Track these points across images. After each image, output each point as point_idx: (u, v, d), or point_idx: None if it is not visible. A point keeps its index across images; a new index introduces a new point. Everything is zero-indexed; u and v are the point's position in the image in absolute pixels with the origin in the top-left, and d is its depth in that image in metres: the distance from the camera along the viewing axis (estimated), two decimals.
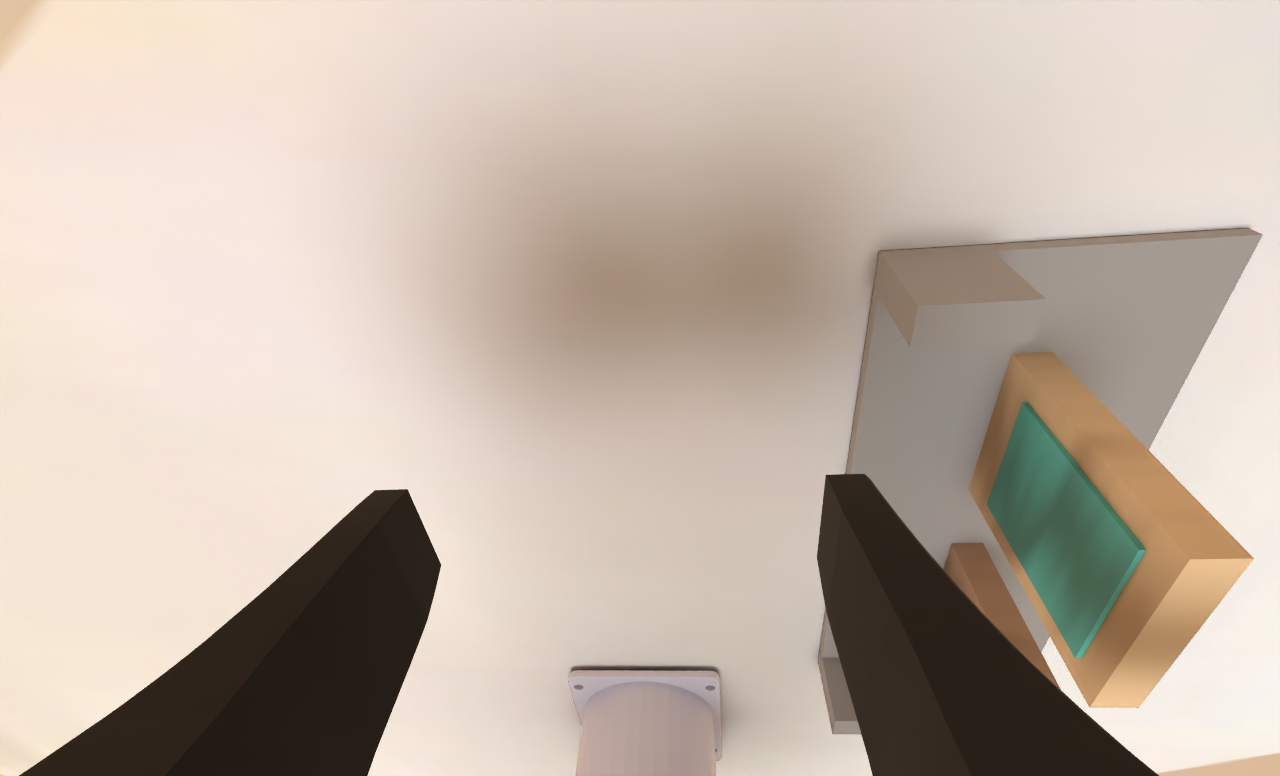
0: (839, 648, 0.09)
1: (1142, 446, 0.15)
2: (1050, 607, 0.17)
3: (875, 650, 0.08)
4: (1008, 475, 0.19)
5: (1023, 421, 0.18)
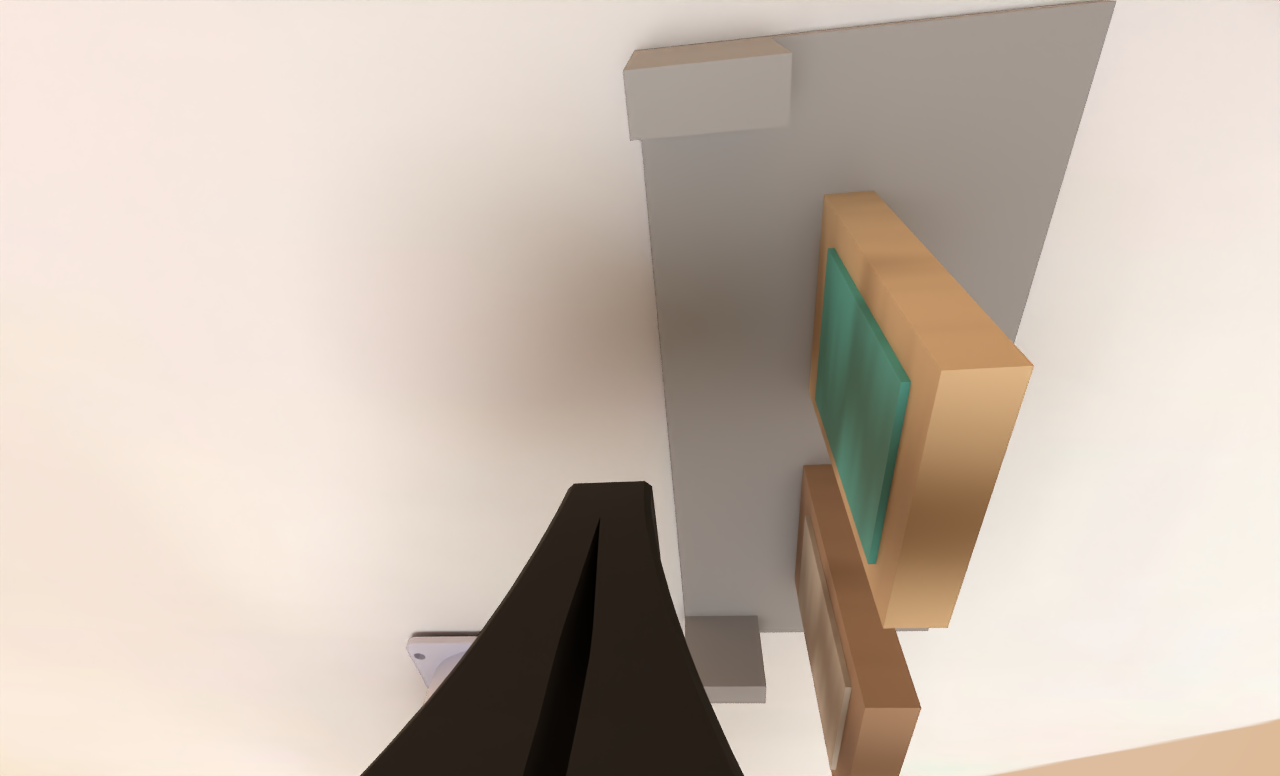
0: None
1: (938, 264, 0.11)
2: (851, 504, 0.13)
3: None
4: (824, 352, 0.15)
5: (829, 272, 0.14)
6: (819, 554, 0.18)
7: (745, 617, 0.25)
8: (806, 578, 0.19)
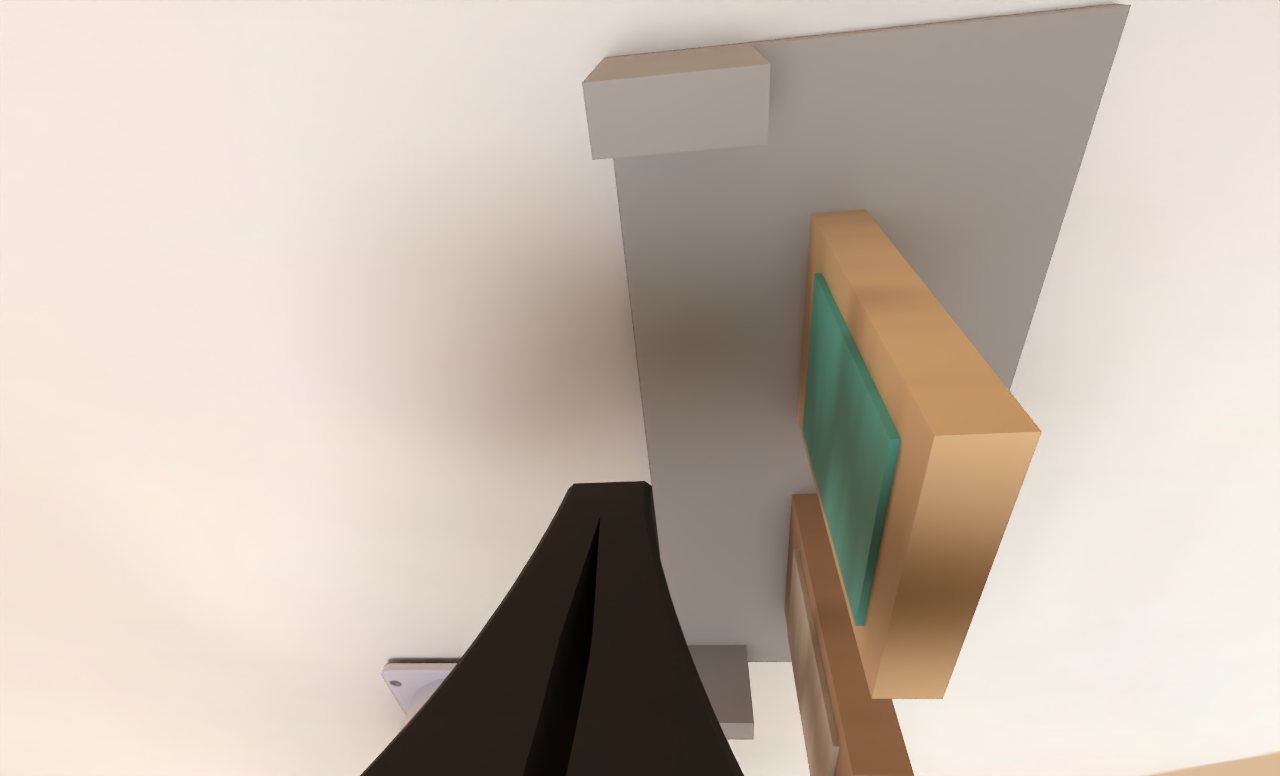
0: None
1: (933, 298, 0.10)
2: (839, 555, 0.12)
3: None
4: (811, 383, 0.14)
5: (815, 299, 0.13)
6: (807, 593, 0.17)
7: (733, 647, 0.24)
8: (795, 614, 0.18)
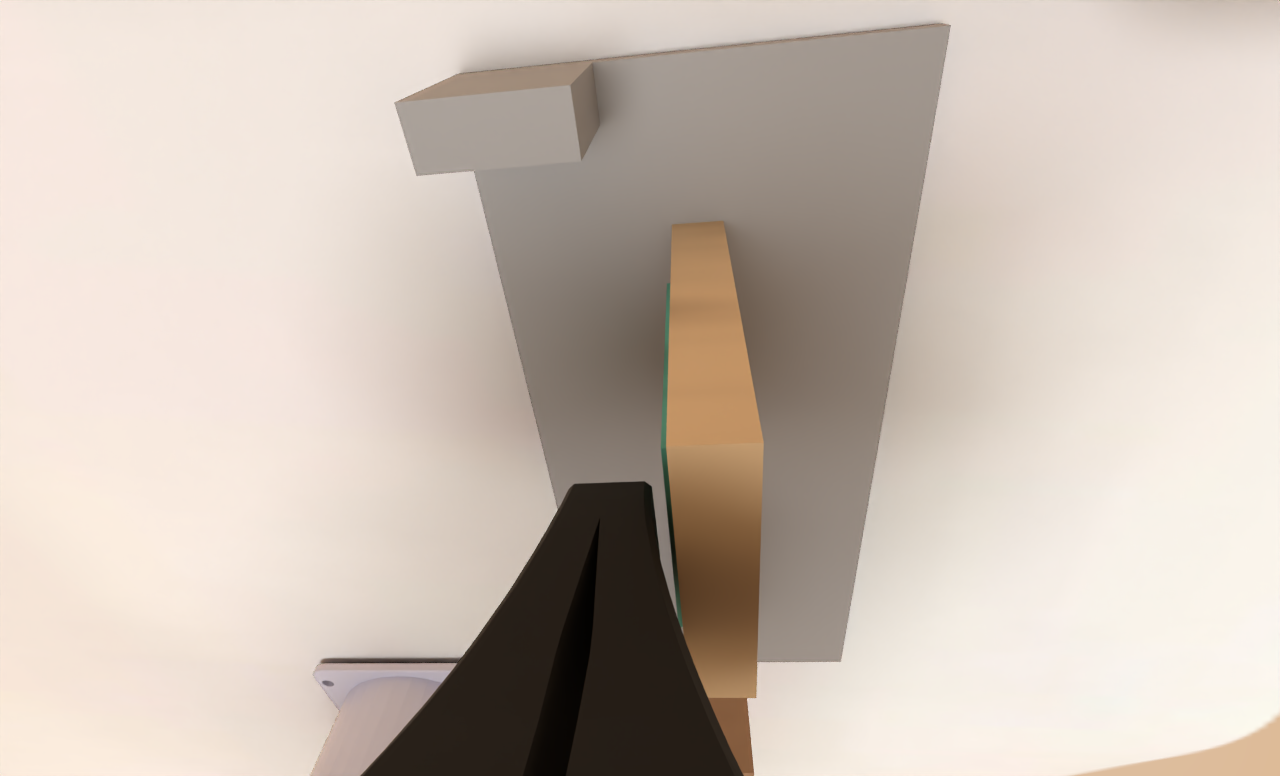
0: None
1: (737, 311, 0.10)
2: None
3: None
4: None
5: None
6: None
7: None
8: None
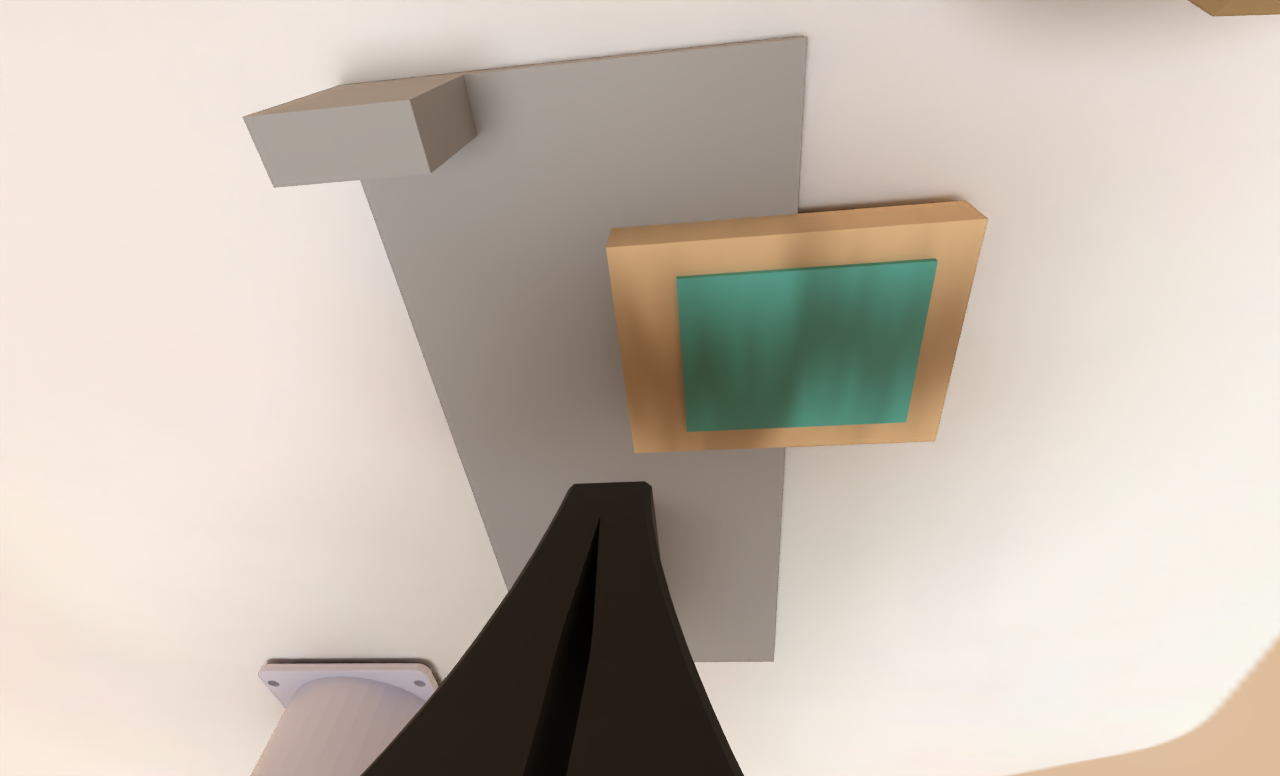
0: None
1: (806, 214, 0.14)
2: (850, 418, 0.15)
3: None
4: (704, 372, 0.15)
5: (693, 296, 0.13)
6: None
7: None
8: None
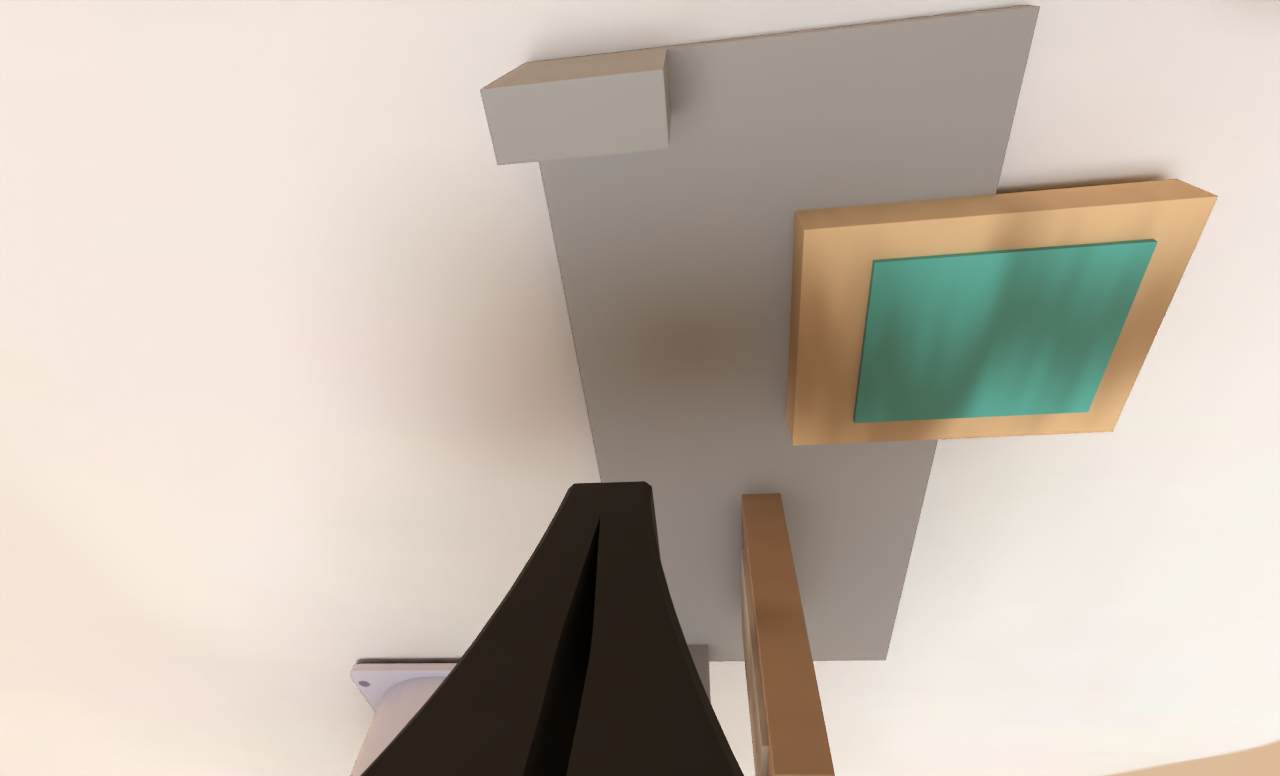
0: None
1: (1005, 194, 0.13)
2: (1029, 408, 0.15)
3: None
4: (885, 360, 0.14)
5: (889, 280, 0.13)
6: (750, 593, 0.17)
7: (695, 647, 0.24)
8: (744, 614, 0.18)
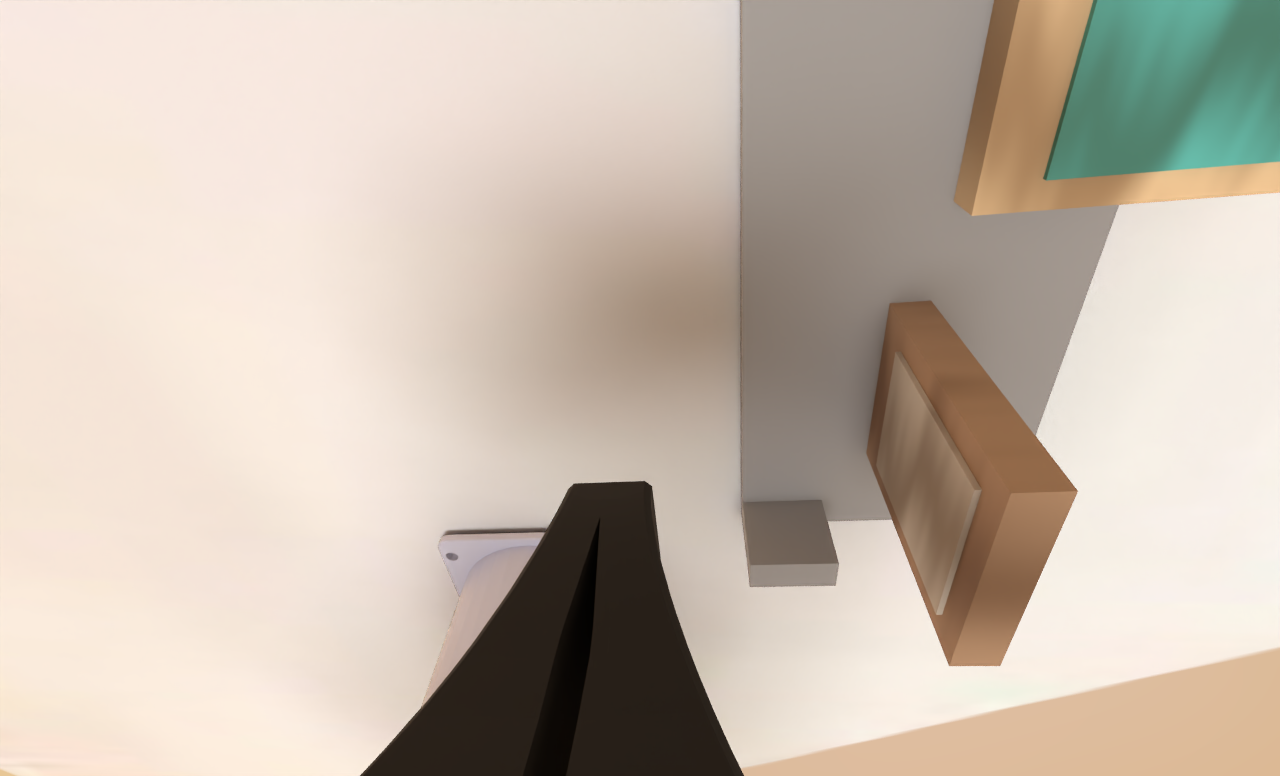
0: None
1: None
2: (1239, 155, 0.14)
3: None
4: (1096, 93, 0.13)
5: None
6: (919, 381, 0.16)
7: (808, 503, 0.23)
8: (894, 425, 0.18)
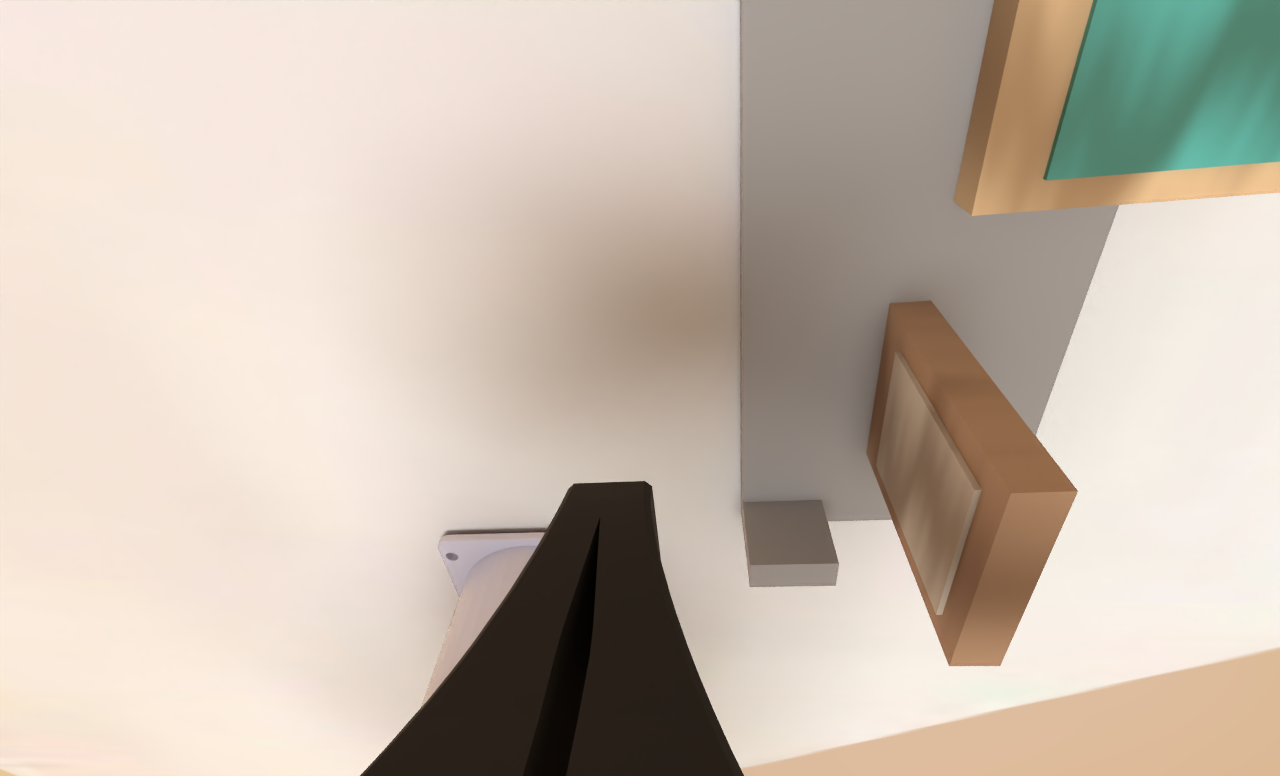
0: None
1: None
2: (1239, 155, 0.14)
3: None
4: (1096, 93, 0.13)
5: None
6: (919, 381, 0.16)
7: (808, 503, 0.23)
8: (894, 425, 0.18)
